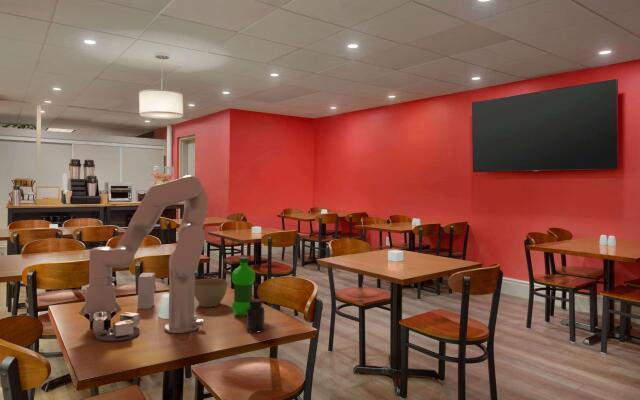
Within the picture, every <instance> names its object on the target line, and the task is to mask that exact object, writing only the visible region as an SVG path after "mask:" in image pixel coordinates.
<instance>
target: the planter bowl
mask: <svg viewBox="0 0 640 400" xmlns="http://www.w3.org/2000/svg"><path fill="white" fill-rule="evenodd" d="M228 284H229V283H228V280H226V279H223V278H201V279H195V292H194V298H195V299H196V301H197V302H198V304H199V306H200V307H204V308H213V307H212V306H214V307H218V306H220V305H221V302H222V301H223V300H224V298H225V296H226V293H227V289H228ZM219 304H220V305H219ZM217 305H218V306H217Z"/></svg>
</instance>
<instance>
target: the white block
mask: <svg viewBox="0 0 640 400" xmlns="http://www.w3.org/2000/svg"><path fill="white" fill-rule="evenodd" d="M106 320H107V316H104V317H97V318H96V319H95V320H94V321H93V332H92V333H97V332H98V333H101V332H104V331H105V330H106Z"/></svg>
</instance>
